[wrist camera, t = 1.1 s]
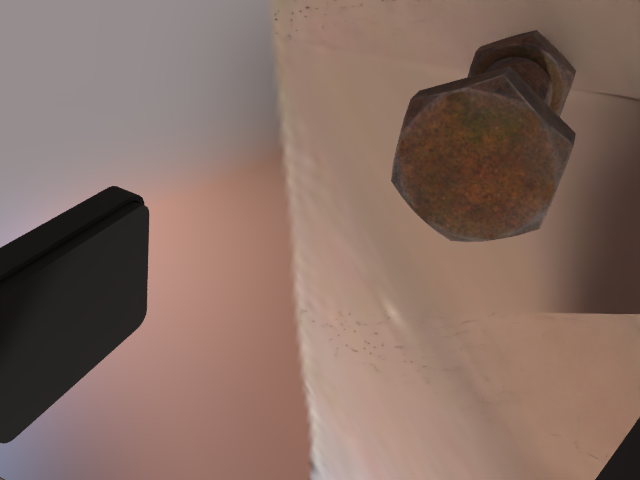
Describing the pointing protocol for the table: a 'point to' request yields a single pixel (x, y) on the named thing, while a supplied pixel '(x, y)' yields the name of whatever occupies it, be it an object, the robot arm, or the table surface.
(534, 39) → the bolt
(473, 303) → the table surface
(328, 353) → the table surface
